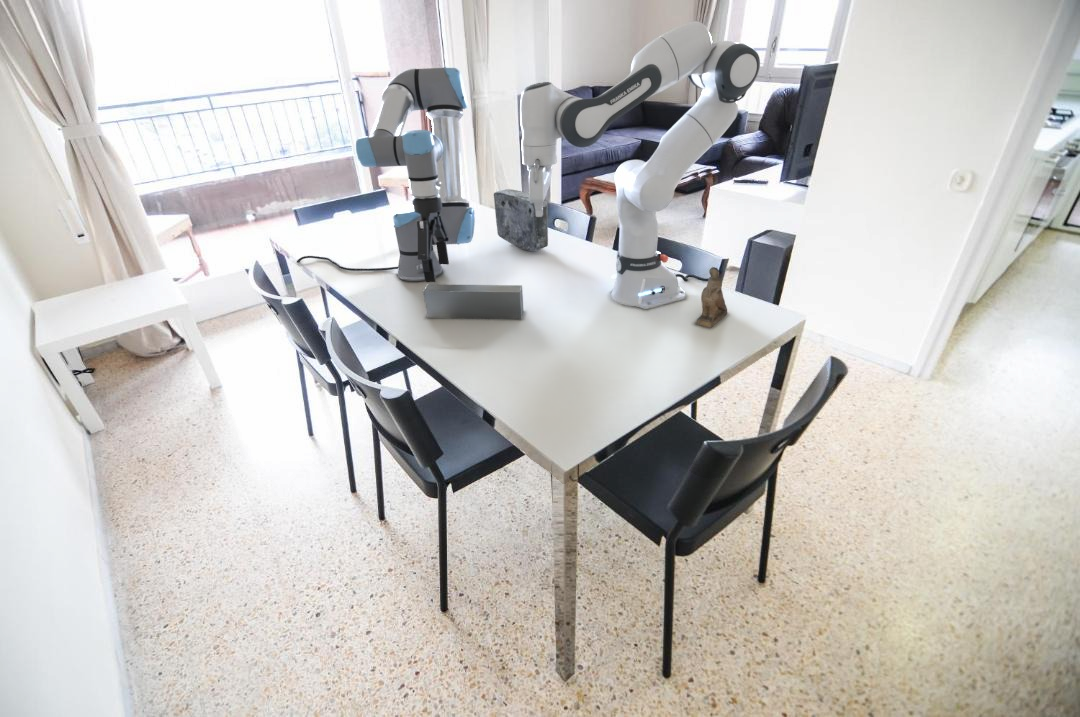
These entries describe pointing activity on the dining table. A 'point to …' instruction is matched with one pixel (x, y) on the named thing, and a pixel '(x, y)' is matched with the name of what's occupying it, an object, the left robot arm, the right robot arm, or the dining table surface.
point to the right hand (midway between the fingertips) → (541, 211)
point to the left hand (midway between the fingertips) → (437, 272)
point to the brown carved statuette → (712, 301)
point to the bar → (474, 301)
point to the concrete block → (520, 220)
